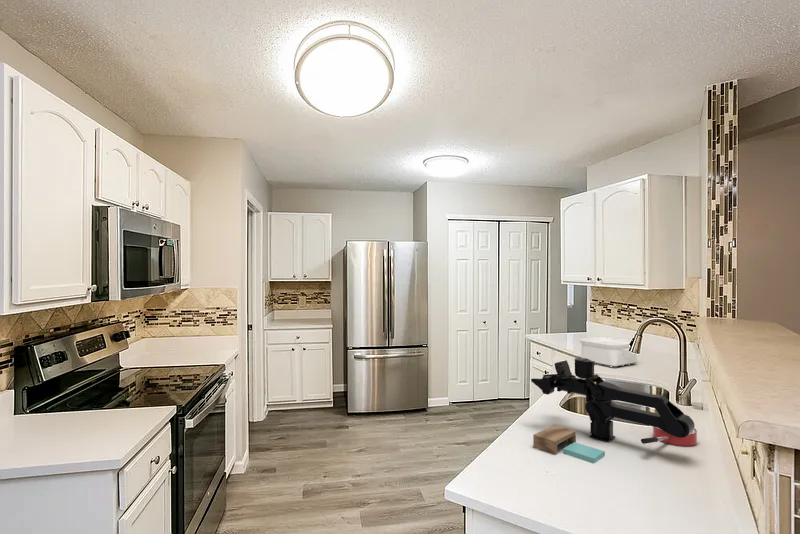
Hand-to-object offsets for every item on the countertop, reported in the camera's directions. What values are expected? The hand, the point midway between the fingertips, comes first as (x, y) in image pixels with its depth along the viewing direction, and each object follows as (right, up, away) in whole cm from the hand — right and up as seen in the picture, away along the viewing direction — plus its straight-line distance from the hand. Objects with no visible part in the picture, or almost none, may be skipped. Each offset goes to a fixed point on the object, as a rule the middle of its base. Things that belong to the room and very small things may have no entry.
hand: (537, 378), depth 172 cm
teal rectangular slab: (+4, -17, -33) cm, 37 cm away
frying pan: (+35, -17, -27) cm, 47 cm away
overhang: (-2, -16, -26) cm, 30 cm away
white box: (+81, -18, +107) cm, 136 cm away
